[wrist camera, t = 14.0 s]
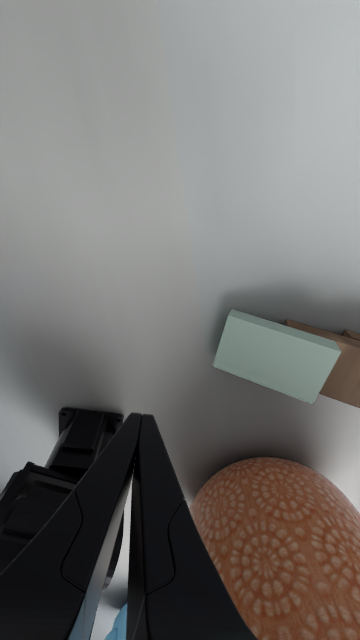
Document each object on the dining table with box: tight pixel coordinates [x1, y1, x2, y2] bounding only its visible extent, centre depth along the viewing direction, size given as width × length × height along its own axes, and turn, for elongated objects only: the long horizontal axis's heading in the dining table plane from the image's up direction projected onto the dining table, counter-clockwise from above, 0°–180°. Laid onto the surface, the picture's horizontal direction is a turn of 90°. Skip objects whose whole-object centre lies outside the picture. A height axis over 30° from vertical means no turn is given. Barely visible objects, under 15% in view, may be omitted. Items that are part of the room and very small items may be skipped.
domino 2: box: [285, 319, 360, 408], centre depth 21 cm, size 2×5×8 cm
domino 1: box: [213, 309, 341, 405], centre depth 21 cm, size 2×5×8 cm
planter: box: [189, 457, 360, 640], centre depth 23 cm, size 21×21×19 cm
